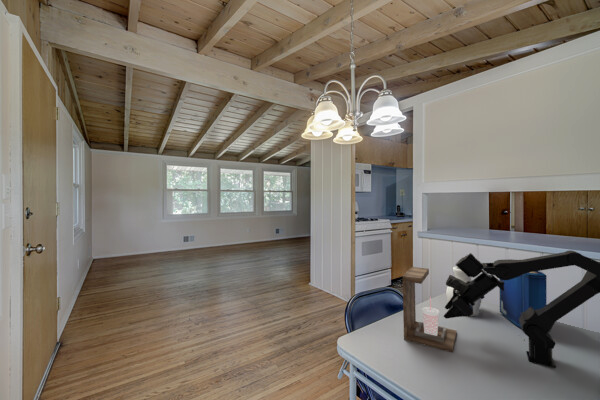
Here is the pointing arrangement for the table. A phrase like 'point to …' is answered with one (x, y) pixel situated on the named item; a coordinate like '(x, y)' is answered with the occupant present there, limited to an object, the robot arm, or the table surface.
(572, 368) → the table surface
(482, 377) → the table surface
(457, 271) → the vase
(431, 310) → the beverage cup
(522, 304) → the book
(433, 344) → the wooden headphone stand
